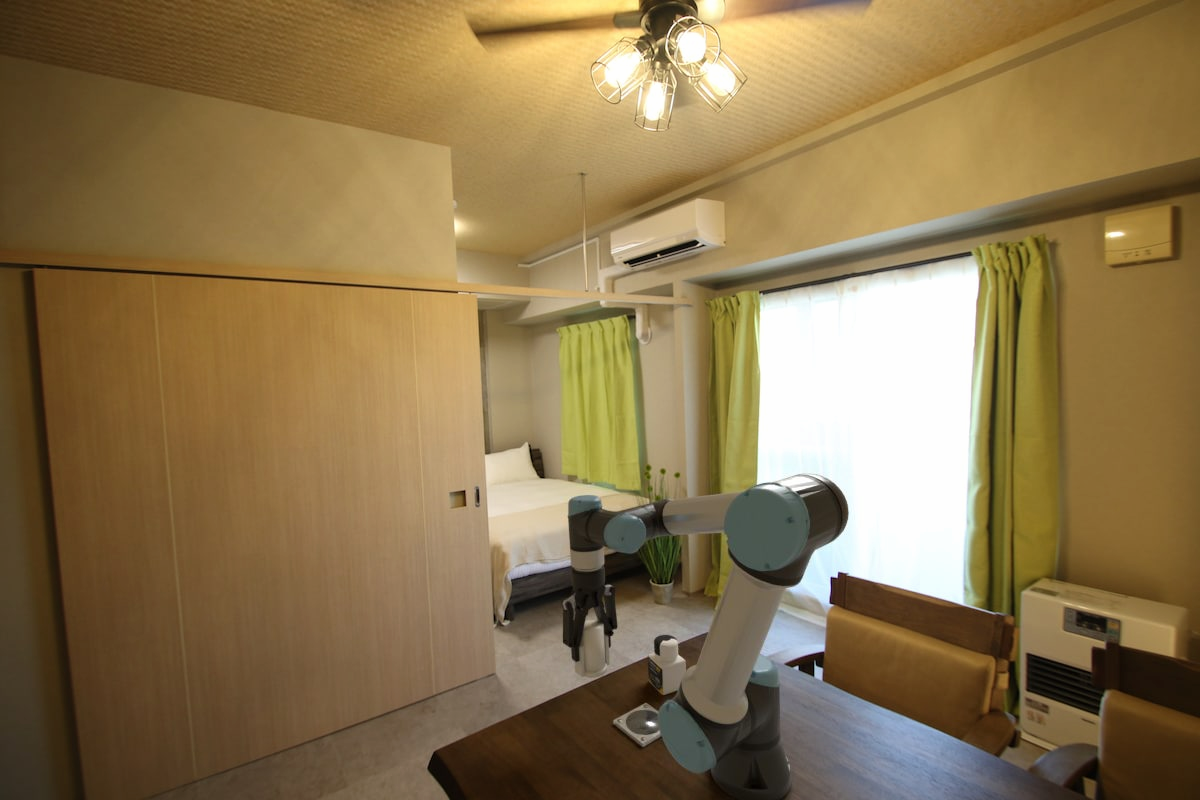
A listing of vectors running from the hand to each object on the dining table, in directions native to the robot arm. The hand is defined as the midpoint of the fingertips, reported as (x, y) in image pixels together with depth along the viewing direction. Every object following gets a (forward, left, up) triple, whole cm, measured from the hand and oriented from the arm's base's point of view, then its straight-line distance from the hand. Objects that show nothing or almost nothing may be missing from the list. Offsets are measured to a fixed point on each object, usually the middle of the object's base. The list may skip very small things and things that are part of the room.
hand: (592, 668), depth 118 cm
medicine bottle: (+1, -24, -14) cm, 28 cm away
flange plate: (-7, -9, -14) cm, 18 cm away
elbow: (+1, 0, 0) cm, 1 cm away
